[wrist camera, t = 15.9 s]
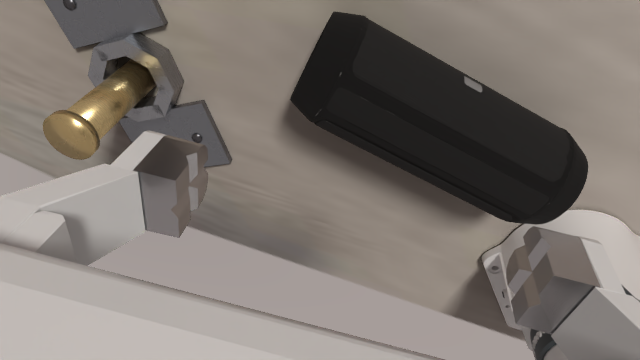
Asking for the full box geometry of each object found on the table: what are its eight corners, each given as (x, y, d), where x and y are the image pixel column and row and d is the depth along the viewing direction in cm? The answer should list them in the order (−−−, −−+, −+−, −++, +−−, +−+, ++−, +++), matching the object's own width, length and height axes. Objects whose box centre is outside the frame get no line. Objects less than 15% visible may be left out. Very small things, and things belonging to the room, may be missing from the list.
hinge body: (232, 159, 51) (225, 171, 49) (154, 170, 54) (145, 182, 52) (124, -69, 37) (109, -64, 35) (29, -36, 40) (10, -30, 39)
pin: (169, 88, 46) (104, 156, 37) (135, 95, 48) (64, 162, 38) (149, 49, 44) (74, 111, 34) (115, 57, 45) (32, 119, 35)
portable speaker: (576, 119, 42) (614, 184, 34) (504, 186, 48) (523, 253, 40) (344, -14, 37) (328, 25, 30) (299, 78, 44) (275, 129, 36)
